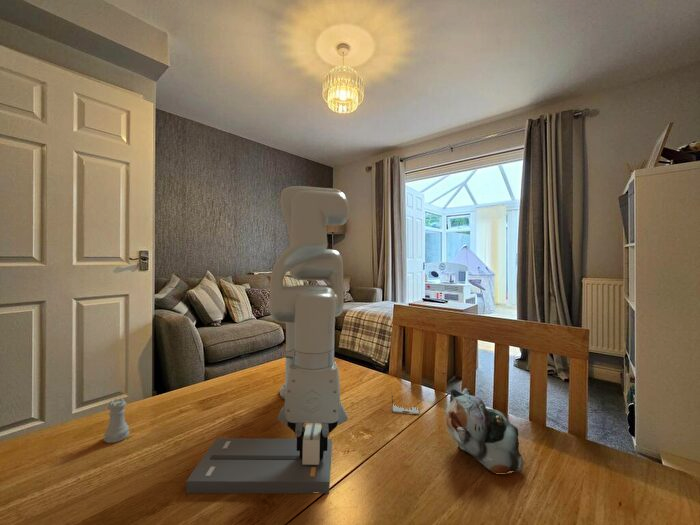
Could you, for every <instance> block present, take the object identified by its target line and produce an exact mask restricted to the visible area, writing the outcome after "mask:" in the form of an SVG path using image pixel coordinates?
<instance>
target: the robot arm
mask: <svg viewBox="0 0 700 525" xmlns="http://www.w3.org/2000/svg"><path fill="white" fill-rule="evenodd" d="M280 207H281V213H282V215H283V218H284V221H285V225H286V227H287V229H288V230H287V232H288V237H289V240H288V242H289V243H288V244H289V247H288V248H286V249H285V250H284V251H283V252H282V254H280V256H279V257H278V258H277V259H276V262H275V263H274V265H273V267H272V270H271V273H270V274H271V275H270V281H269V301H268V303H269V304H268V308H269V314H270V317H271V318H272V320H273V321H275V322H277V323H284V324H285V370H284V371H285V375H284V377H285V378H284V379H285V383H284V384H283V385H281V386H280V388H279V395H280V397H281V398H282V399H284V404H283V406H282V408H281V410H280V412H279V413H278V415H277V420H278V421H279V422H280V423H282V424H284V425H287V427H288V428H289V429H290V430H291V431H293V433H294V436H295V437H296V439H297V451H300V458H303V437H304V433H305V428H306V427H305V426H304V424H321V434H320V459H323V455H324V451H327V448H328V439H329V436H330V433H331V432H333V431H334V429H336V428H337V426H339V425H342V424H343V423H345V422H347V421H348V413H347V412H346V409H345V407H344V406H343V404H342V401H341V383H340V374H339V373H340V372H339V366H338V363H337V362H336V361H335V329H336V328H335V326H336V324H335V323H336V322H335V321H336V320H335V319H336V317H339V316H340V315H341V314H342V313H343V310H344V302H345V301H344V294H345V292H344V262H343V257H342V255H341V253H340V252H339V251H338V250H336V249H331V248H328V246H329V244H328V235H327V234H328V233H327V226H343V225H345V224H346V223H347V221H348V220H349V219H348V218H349V216H350V215H349V214H350V206H349V200H348V198H347V196H346V195H345V193H344V192H342V191H341V190H340V189H337V188H331V187H327V188H326V187H318V186H317V187H315V186H306V185H305V186H304V185H295V186H294V185H293V186H288V187H286V188H283V190H282V191H281V194H280ZM288 272H289V275H290V276H291V278H292V279H294V280H296V281H298V280H299V281H319V282H320V281H323V282H326V283H327V284H328V285H326V284H325V285H324V284H323V285H322V284H296V285H291V286H287V285H286V286H284V278H285V276H286V274H287V273H288Z"/></svg>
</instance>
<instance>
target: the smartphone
mask: <svg viewBox="0 0 700 525" xmlns="http://www.w3.org/2000/svg"><path fill="white" fill-rule="evenodd" d="M392 411H393V412H399V413H412V414H419V413H420V414H421V409H420V410H418V407H417V410H416V407H415V408H414V407H412V410H411V409H410V408H409V410H408V409H405V410H404V408H403V407H402V408H401V407H400V408H399V406H398V407H397V406H396V405H395V406H394V404H393V406H392V405H391V412H392ZM393 412H392V413H393ZM399 413H398V414H399Z"/></svg>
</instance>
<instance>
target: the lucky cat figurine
mask: <svg viewBox="0 0 700 525" xmlns="http://www.w3.org/2000/svg"><path fill="white" fill-rule="evenodd" d="M449 399H450V400H449V403H448V406H447V407H446V409H445V417H446V419H445V420H446V427H447V429H448V432H449V434H450V435H451V437H452V438H453V440H454V441H455V442H456V443H457V445H458V447H459V448H460V449H461V450H463V451H465V452H466V453H467V454H469V456H470V455H471V456H472V457H473V458H474V459H476V460H477V461H478V462H480V463H481V465H482V466H484V467H485V468H486V469H488V470H489V471H490V472H491V473H493V472H495V473H507V472H509V471H514V473H515V472H518V473H519V472H521V470H522V469H523V461H524V460H523V457H522V454H521V453H520V451H519V450H520V449H519V448H520V442H519V429H518V427H517V426H516V425H514V424H512V423H511V422H510V421H509V420H508V419H507V417H506V416H505V414H504V413H503V412H502V411H499V410H498V409H495V408H494V409H493V408H487V407H486V404H485V402H484V401H483V399H481V398H480V397H478V396H475V395H472V392H471V390H470V389H469V388H466V387H465V388H463V390H462V391H461V392H460V391H458V390H456V389H453V388H452V389H450V396H449ZM495 473H494V474H495Z"/></svg>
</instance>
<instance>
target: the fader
mask: <svg viewBox="0 0 700 525" xmlns="http://www.w3.org/2000/svg"><path fill="white" fill-rule="evenodd" d="M304 428H305V433H304V437H303V460H302V465H319V460H320V434H321V429H322V424H316V423H311V424H306V425H305V427H304Z"/></svg>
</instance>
